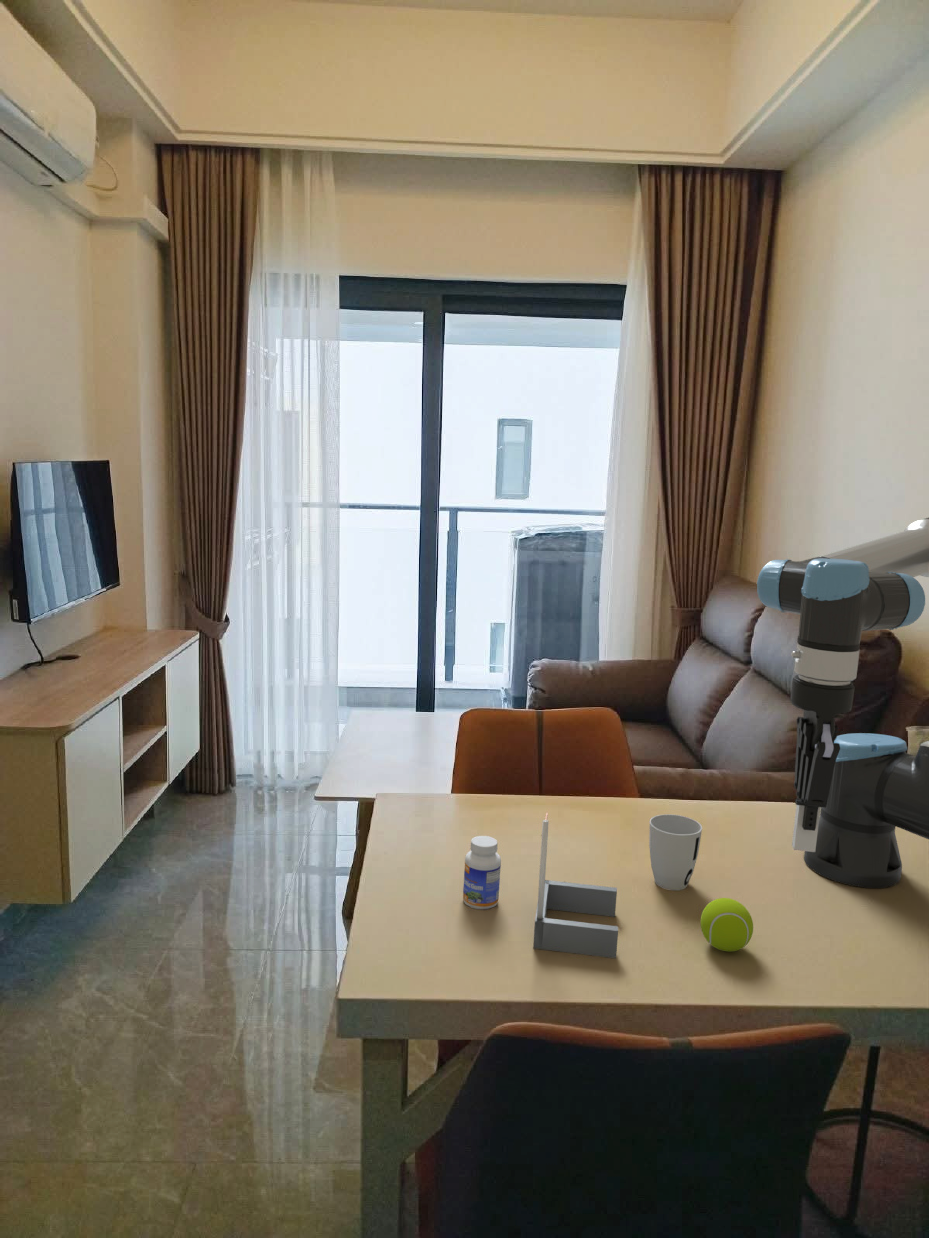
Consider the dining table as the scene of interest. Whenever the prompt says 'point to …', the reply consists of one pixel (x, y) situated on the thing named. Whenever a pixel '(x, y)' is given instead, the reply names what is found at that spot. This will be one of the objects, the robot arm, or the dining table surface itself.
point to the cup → (673, 849)
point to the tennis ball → (726, 924)
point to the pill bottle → (482, 873)
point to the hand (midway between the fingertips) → (803, 848)
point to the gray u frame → (573, 900)
